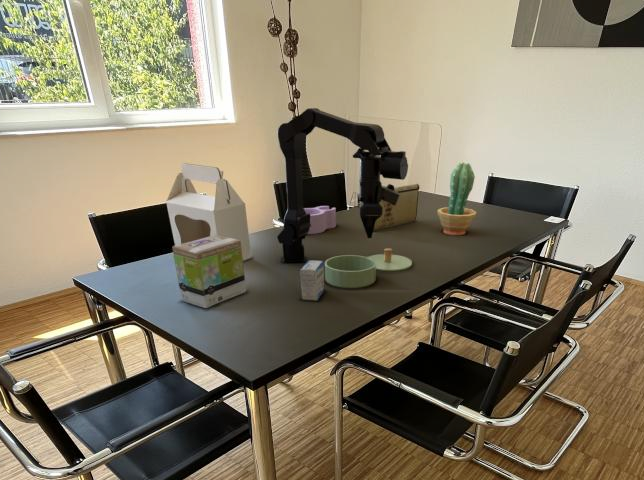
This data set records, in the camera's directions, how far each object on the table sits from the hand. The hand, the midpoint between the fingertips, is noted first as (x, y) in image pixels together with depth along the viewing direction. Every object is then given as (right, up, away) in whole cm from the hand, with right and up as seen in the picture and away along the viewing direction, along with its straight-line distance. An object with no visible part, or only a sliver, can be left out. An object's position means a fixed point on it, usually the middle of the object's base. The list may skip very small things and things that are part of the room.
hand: (368, 233), depth 140 cm
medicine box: (-16, -21, -9) cm, 27 cm away
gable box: (-52, -2, +18) cm, 55 cm away
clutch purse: (+10, +23, +57) cm, 62 cm away
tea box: (-43, -21, -11) cm, 49 cm away
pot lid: (+7, -5, +14) cm, 16 cm away
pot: (-5, -13, +2) cm, 15 cm away
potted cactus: (+36, +18, +49) cm, 63 cm away
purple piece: (-21, +20, +51) cm, 58 cm away
